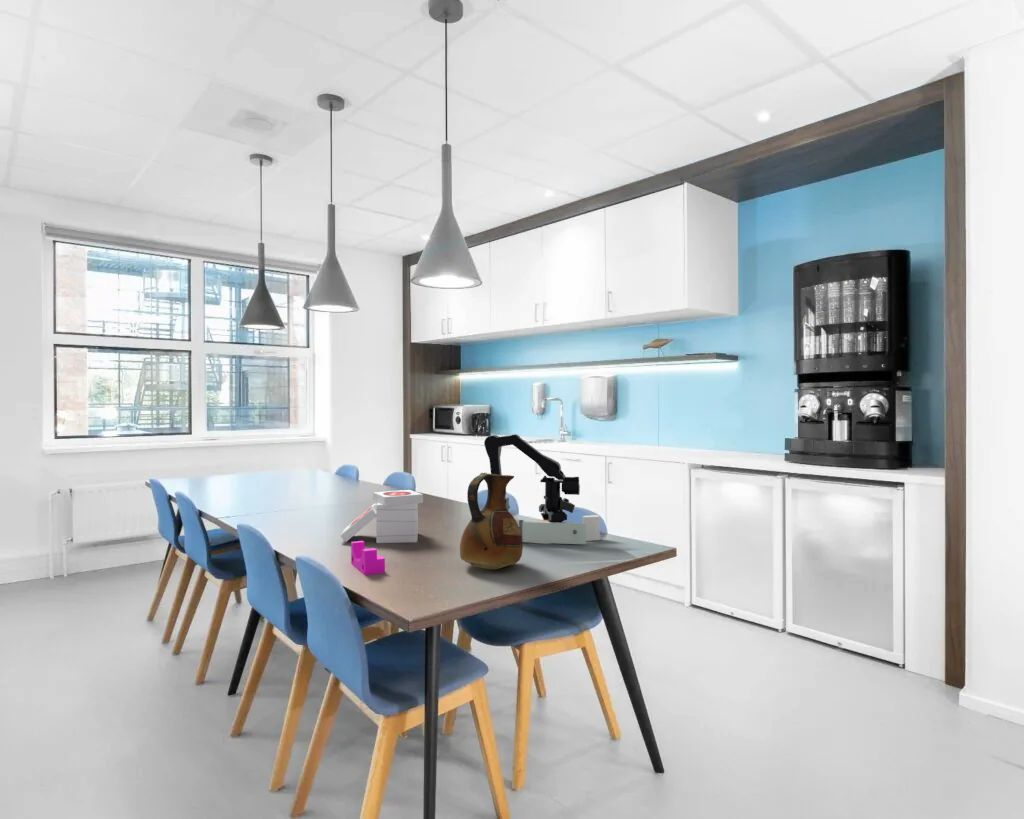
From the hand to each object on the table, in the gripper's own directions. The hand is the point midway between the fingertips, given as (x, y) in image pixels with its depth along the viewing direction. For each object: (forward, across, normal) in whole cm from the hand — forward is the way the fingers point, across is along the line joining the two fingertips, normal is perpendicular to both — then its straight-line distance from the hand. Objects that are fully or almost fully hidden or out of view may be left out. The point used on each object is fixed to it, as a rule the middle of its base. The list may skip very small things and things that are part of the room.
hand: (552, 534), depth 236 cm
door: (+2, -3, +13) cm, 14 cm away
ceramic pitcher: (+1, -34, +30) cm, 46 cm away
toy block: (+1, -28, +69) cm, 74 cm away
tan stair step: (+2, 0, 0) cm, 2 cm away
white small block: (+2, -3, +13) cm, 14 cm away
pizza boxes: (+2, +12, +63) cm, 65 cm away
